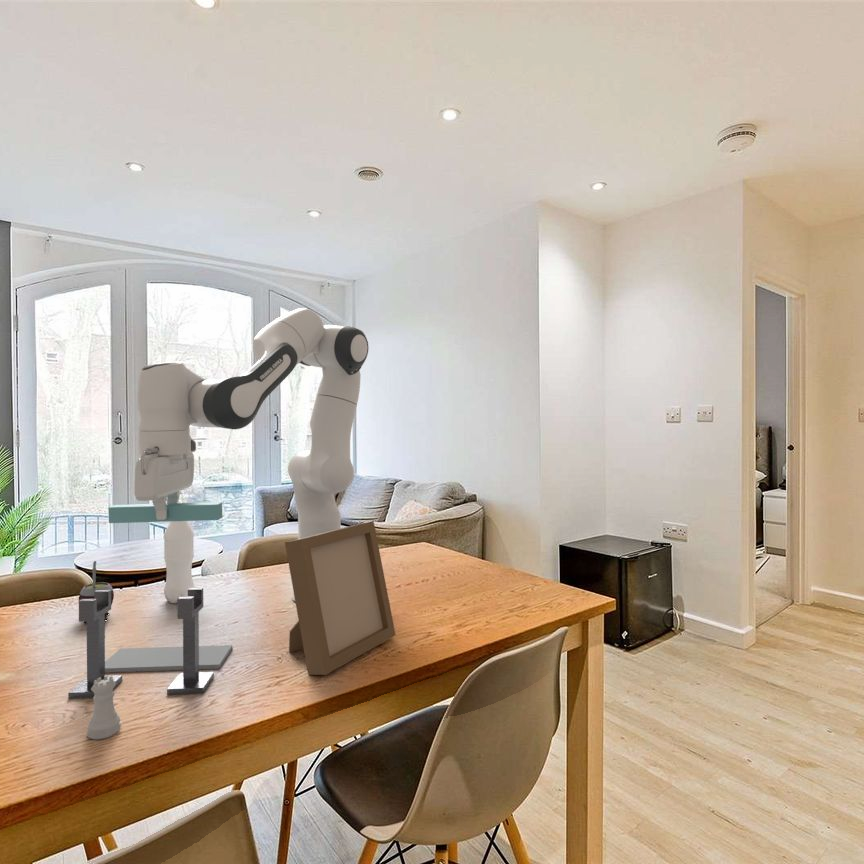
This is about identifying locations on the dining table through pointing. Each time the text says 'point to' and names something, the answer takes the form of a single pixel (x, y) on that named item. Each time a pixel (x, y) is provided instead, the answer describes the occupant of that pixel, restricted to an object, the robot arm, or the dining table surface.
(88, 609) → the forked support stand
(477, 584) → the dining table surface
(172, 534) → the water bottle
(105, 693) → the rook chess piece
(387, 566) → the dining table surface
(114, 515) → the rail
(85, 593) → the mate gourd
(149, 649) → the mat
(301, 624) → the photo frame
